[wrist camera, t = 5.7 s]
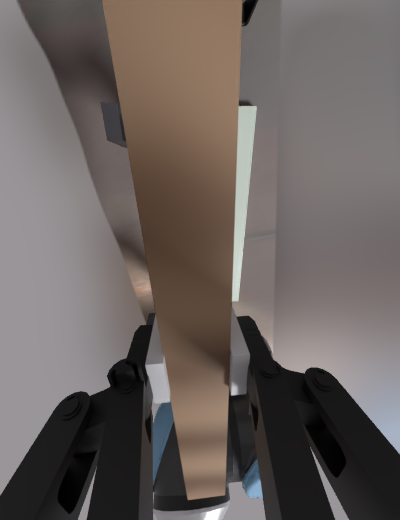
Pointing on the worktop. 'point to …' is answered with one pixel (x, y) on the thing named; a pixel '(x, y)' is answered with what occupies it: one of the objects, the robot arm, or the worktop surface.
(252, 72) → the worktop surface
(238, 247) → the board
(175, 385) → the rail
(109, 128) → the rack
